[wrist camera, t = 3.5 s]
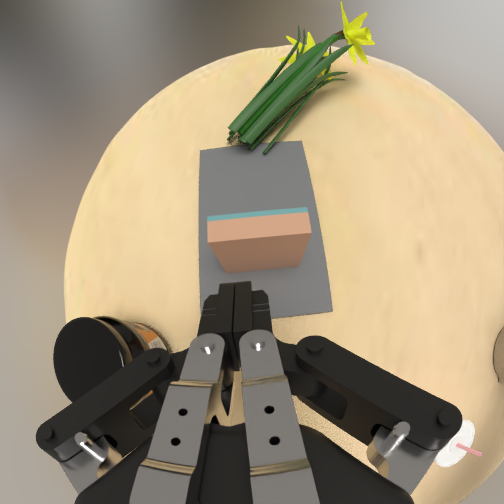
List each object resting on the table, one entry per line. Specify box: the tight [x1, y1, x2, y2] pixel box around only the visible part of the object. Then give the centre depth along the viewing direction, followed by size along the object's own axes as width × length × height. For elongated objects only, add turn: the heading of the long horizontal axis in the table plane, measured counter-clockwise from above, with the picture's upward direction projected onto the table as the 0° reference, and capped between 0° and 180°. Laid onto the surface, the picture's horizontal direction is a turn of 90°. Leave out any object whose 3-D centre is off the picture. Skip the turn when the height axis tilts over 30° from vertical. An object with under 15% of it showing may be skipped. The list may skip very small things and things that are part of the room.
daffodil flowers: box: [227, 1, 375, 154], centre depth 37 cm, size 17×15×35 cm
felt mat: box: [199, 141, 333, 318], centre depth 36 cm, size 26×16×1 cm, turn 4°
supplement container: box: [53, 316, 171, 409], centre depth 26 cm, size 10×10×12 cm
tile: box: [207, 207, 312, 273], centre depth 29 cm, size 2×9×11 cm, turn 95°
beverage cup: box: [434, 420, 483, 467], centre depth 19 cm, size 6×6×14 cm
